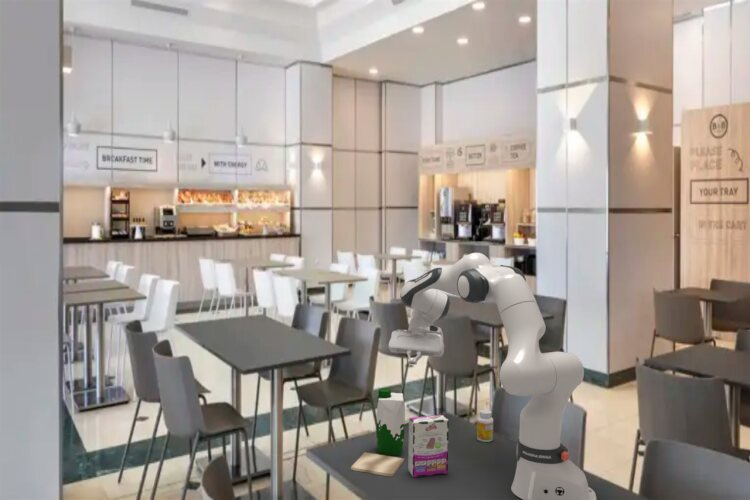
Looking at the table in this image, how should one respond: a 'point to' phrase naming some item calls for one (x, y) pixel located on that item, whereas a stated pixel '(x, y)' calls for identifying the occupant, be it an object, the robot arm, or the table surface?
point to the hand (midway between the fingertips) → (412, 363)
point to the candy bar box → (428, 445)
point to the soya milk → (390, 422)
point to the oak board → (377, 464)
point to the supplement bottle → (485, 426)
